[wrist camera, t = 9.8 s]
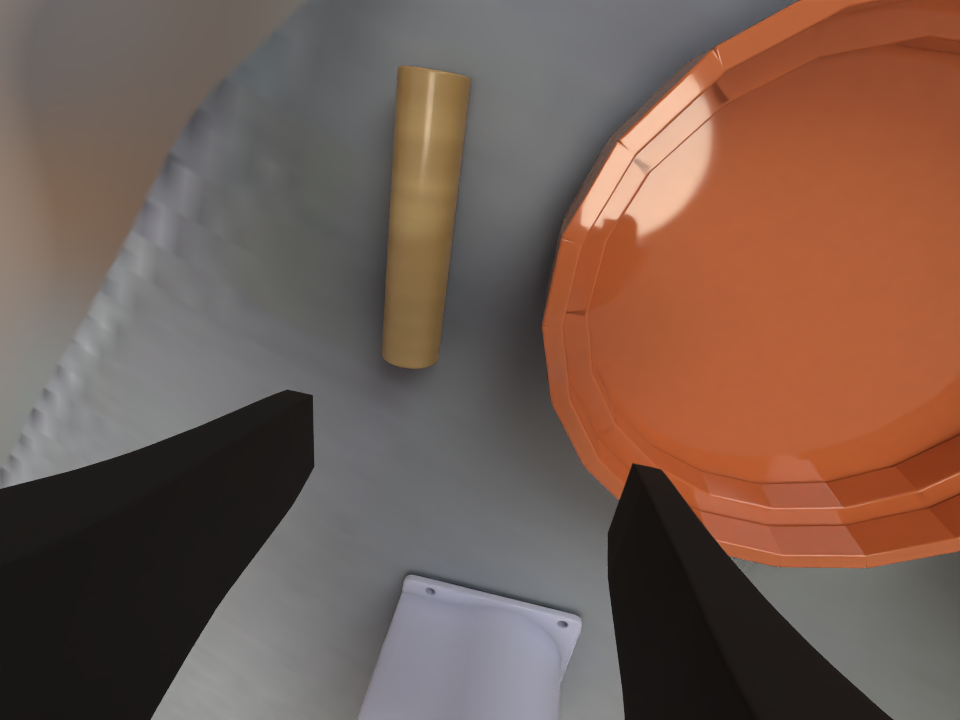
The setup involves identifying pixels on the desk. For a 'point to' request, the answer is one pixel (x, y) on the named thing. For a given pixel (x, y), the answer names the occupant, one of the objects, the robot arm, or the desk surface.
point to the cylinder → (422, 211)
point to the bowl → (779, 288)
